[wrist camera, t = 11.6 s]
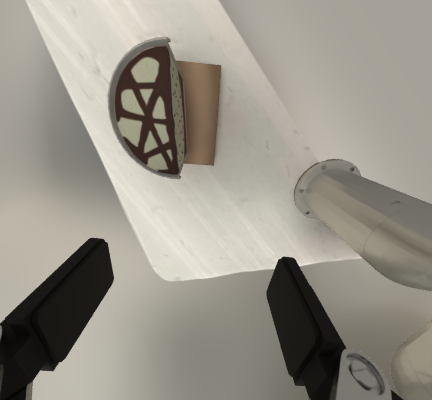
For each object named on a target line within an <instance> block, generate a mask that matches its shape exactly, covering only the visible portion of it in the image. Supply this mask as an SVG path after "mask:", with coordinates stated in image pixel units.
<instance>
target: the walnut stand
mask: <svg viewBox="0 0 432 400" xmlns="http://www.w3.org/2000/svg"><path fill="white" fill-rule="evenodd" d="M176 62H177V64H178V67H179V69H180V71H181V74H182V76H183V78H184V92H185V109H186V127H187V144H188V153H187V156H186V159H185V161H184V163H186V164H201V165H214V156H215V142H216V129H217V115H218V101H219V88H220V74H221V65H211V64H202V63H193V62H183V61H176Z"/></svg>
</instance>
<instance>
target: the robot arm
mask: <svg viewBox="0 0 432 400" xmlns="http://www.w3.org/2000/svg"><path fill="white" fill-rule="evenodd" d="M294 198H295V203H296V206H297V208H298V209H299V210H300V211H301V212H302V213H303V214H304V215H305V216H307V217H309V218H313V219H321V220H322V221H323V222H324V223H325V224H326V225H327V226H328V227H329V228H330V229H332V230H333V231H334V232H335V233H336V234H337V235H338V236H339V237H340V238H341V239H342V240H344V241H345V242H346V243H347V244H348V245H349V246H350V247H351V248H352V249H353V250H354V251H355V252H357V253H358V254H359V255H360V256H361V257H362V258H363V259H364V260H366V261H367V262H368V263H369V264H370V265H371V266H372V267H373V268H374V269H375V270H377V271H378V272H379V273H380V274H382V275H383V276H385V277H386V278H388V279H390V280H392V281H394V282H396V283H398V284H401V285H404V286H407V287H412V288H416V289H421V290H427V291H432V204H429V203H427V202H424V201H422V200H419V199H417V198H414V197H411V196H409V195H407V194H404V193H401V192H399V191H396V190H394V189H391V188H389V187H386V186H384V185H381V184H378V183H376V182H373V181H371V180H368V179H366V178H363V177H361V175H360V172H359V170H358V169H357V167H356V166H354V165H353V164H352V163H350V162H348V161H344V160H339V159H331V160H326V161H323V162H320V163H318V164H316V165H314V166H313V167H311V168H310V169H309V170H308V171H307V172H306V173H305V174H304V175H303V176H302V177H301V179H300V180H299V182H298V184H297V186H296V189H295V194H294ZM113 280H114V276H113V271H112V264H111V259H110V253H109V248H108V243H107V242H105V240H104V239H99V238H90V239H88V240H87V241H86V242H85V243H84V244H83V245H82V246H81V247H80V248H79V249H78V250H77V251H76V252H75V253H74V254H72V255H71V256H70V257H69V258H68V259H67V260H66V261H65V262H64V263H63V264H62V265H61V266H60V267H59V268H58V269H57V270H55V271H54V272H53V273H52V274H51V275H50V276H49V277H48V278H47V279H46V280H45V281H44V282H43V283H42V284H41V285H40V286H39V287H38V288H36V289H35V290H34V291H33V292H32V293H31V294H30V295H29V296H28V297H27V298H26V299H25V300H24V301H23V302H22V303H21V304H19V305H18V306H17V307H16V308H15V309H14V310H13V311H12V312H11V313H10V314H9V315H8V316H7V317H6V318H5V320H4V321H2V322H1V323H0V400H32V386H33V380H34V378H35V377H36V375H37V374H38V373H39V371H40V370H42V371H54V369H55V368H56V366H57V365H58V363H59V362H62V361H63V360H64V359H65V358H66V356H67V355H68V353H69V352H70V350H71V349H72V347H73V345H74V344H75V342H76V341H77V339H78V338H79V336H80V334H81V333H82V331H83V330H84V328H85V326H86V325H87V323H88V322H89V320H90V318H91V317H92V315H93V314H94V312H95V310H96V309H97V307H98V306H99V304H100V302H101V301H102V299H103V298H104V296H105V295H106V293H107V292H108V290H109V288H110V287H111V285H112V283H113ZM267 300H268V303H269V307H270V310H271V314H272V317H273V321H274V324H275V328H276V331H277V335H278V338H279V342H280V345H281V349H282V352H283V356H284V360H285V363H286V367H287V370H288V373H289V375H290V376H291V377H293V380H294V383H295V385H296V386H305V387H306V390H307V393H308V396H309V400H432V320H431V321H430V322H428V323H427V324H426V325H424V326H423V327H422V328H421V329H419V330H418V331H417V332H415V333H414V334H413V335H412V336H410V337H409V338H408V339H407V340H406V341H404V342H403V343H402V344H401V345H400V346H399V347H398V348H397V349H396V350H395V352H394V353H393V355H392V358H391V363H390V371H391V376H392V380H393V383H394V385H395V387H396V390H397V392H398V394H399V396H400V397H399V396H398V395H397V394H396V393H394V392H393V391H392V390H391V389H390V386H389V383H388V381H387V379H386V377H385V375H384V374H383V372H382V371H381V369H380V368H379V367H378V366H377V365H376V364H375V363H374V361H373V360H371V359H370V358H369V357H368V356H367V355H365V354H364V353H362V352H360V351H359V350H356V349H352V348H346V347H345V345H344V343H343V342H342V340H341V338H340V336H339V335H338V333H337V331H336V329H335V327H334V326H333V324H332V322H331V321H330V319H329V317H328V315H327V313H326V312H325V310H324V308H323V306H322V304H321V303H320V301H319V299H318V297H317V296H316V294H315V292H314V290H313V289H312V287H311V286H310V285H309V283H308V282H307V280H306V278H305V276H304V274H303V273H302V271H301V269H300V267H299V265H298V264H297V262H296V260H295V259H294V258H292V257H282V258H281V259H279V260H278V262H277V265H276V268H275V270H274V273H273V276H272V278H271V281H270V284H269V286H268V289H267Z"/></svg>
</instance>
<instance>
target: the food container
mask: <svg viewBox="0 0 432 400" xmlns="http://www.w3.org/2000/svg"><path fill="white" fill-rule="evenodd" d="M168 42H170V39H169V38H168V37H159V38H153V39H150V40H146V41H144V42H142V43H140V44H138V45H136V46H135V47H133V48H132V49H131V50H130V51H129V52H127V53H126V54H125V55H124V57H123V58H122V59H121V61H120V62H119V63H118V65H117V67H116V69H115V71H114V72H113V75H112V78H111V81H110V84H109V91H108V110H109V117H110V121H111V124H112V127H113V130H114V132H115V135H116V137H117V139H118V141H119V142H120V144H121V145H122V147H123V149H124V150H125V151H126V152H127V153H128V155H129V156H130V157H131V158H132V159H133V160H134V161H135V162H136V163H138V164H139V165H140V166H142V167H143V168H145V169H146V170H148V171H150V172H152V173H154V174H157V175H159V176H162V177H167V178H171V179H180V178H181V176H179V175H180V173H181V170H182V167H183V164H184V161H185V159H186V156H187V153H188V144H187V127H186V109H185V92H184V78H183V76H182V74H181V71H180V69H179V67H178V64H177V62H176V60H175V58H174V55H173V53H172V51H171V48H170V46H169V44H168Z"/></svg>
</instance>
